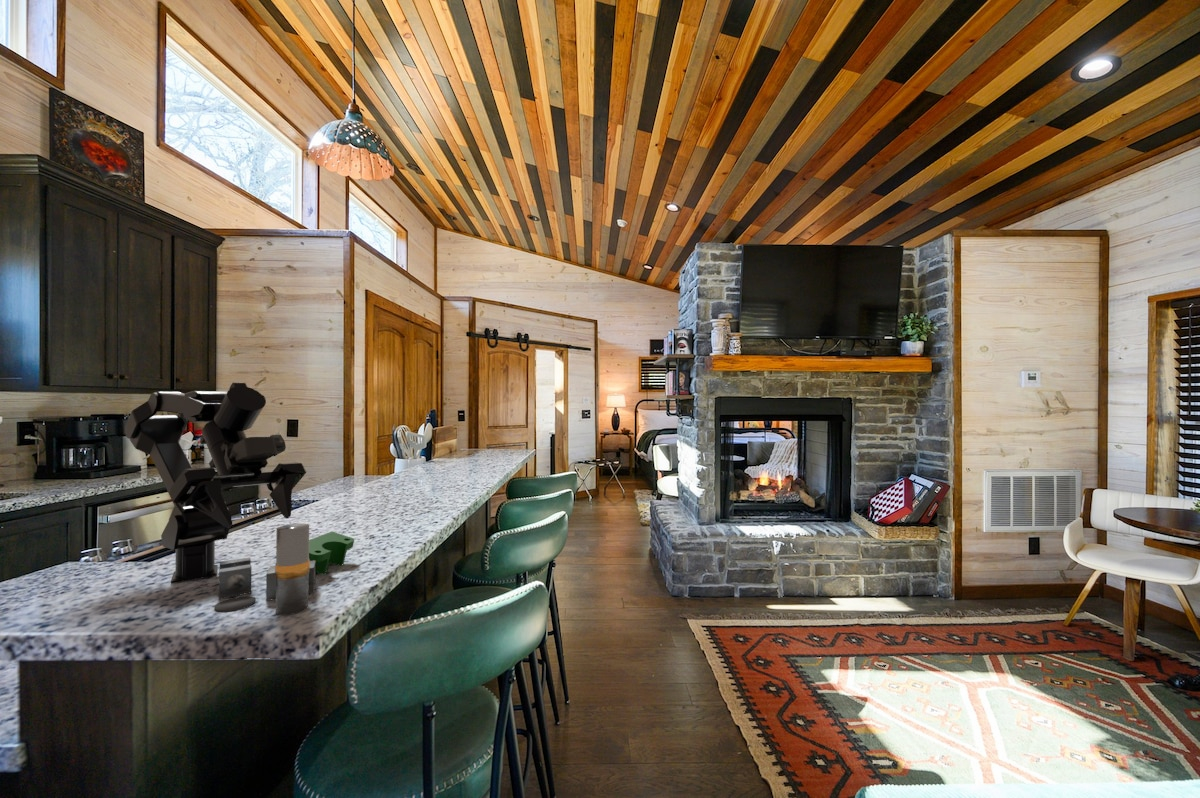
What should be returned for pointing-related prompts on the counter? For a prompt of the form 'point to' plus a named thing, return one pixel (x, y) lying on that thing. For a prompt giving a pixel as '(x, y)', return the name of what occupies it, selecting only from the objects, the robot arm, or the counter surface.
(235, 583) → the grey metal block
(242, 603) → the pad
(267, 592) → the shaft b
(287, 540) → the sleeve
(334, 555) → the clamp
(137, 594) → the counter surface
